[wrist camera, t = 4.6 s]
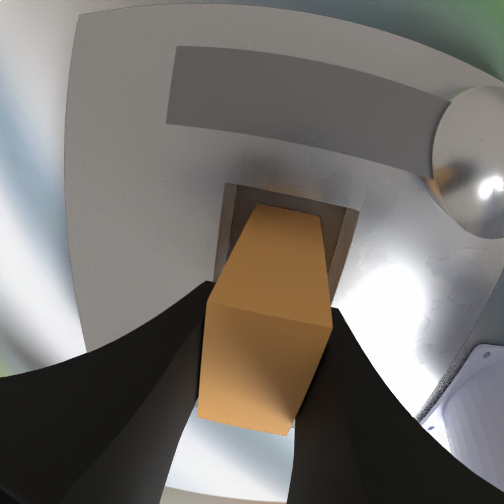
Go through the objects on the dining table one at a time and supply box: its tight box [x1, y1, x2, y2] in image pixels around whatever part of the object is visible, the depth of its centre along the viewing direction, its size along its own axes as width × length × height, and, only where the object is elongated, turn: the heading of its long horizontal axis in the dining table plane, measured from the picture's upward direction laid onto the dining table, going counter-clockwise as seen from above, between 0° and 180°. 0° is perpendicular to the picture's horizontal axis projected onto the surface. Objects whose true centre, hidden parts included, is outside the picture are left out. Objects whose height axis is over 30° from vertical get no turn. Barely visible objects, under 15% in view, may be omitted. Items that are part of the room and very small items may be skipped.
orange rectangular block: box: [197, 203, 333, 436], centre depth 10 cm, size 2×4×7 cm, turn 171°
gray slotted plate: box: [64, 3, 504, 428], centre depth 12 cm, size 18×18×4 cm
